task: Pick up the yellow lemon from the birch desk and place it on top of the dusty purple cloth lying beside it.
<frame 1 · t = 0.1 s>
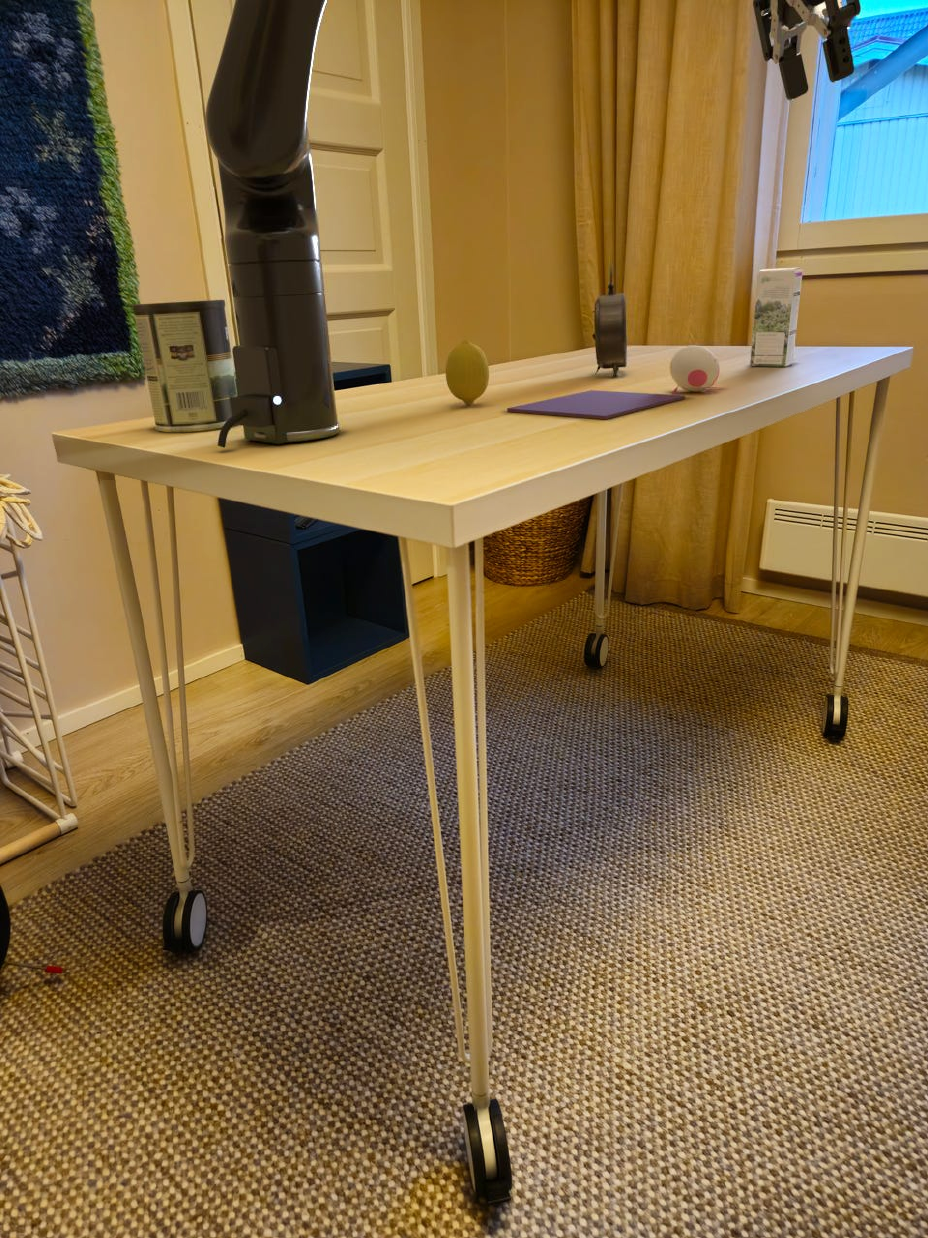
hand: (819, 87, 84), 31 cm above the table, tool tilted 20°, fingers open, 8 cm apart
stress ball: (697, 392, 109), on the table
coffee can: (199, 427, 100), on the table
lemon: (468, 407, 106), on the table
syrup box: (771, 366, 134), on the table
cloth: (597, 404, 101), on the table
alarm clock: (609, 375, 132), on the table
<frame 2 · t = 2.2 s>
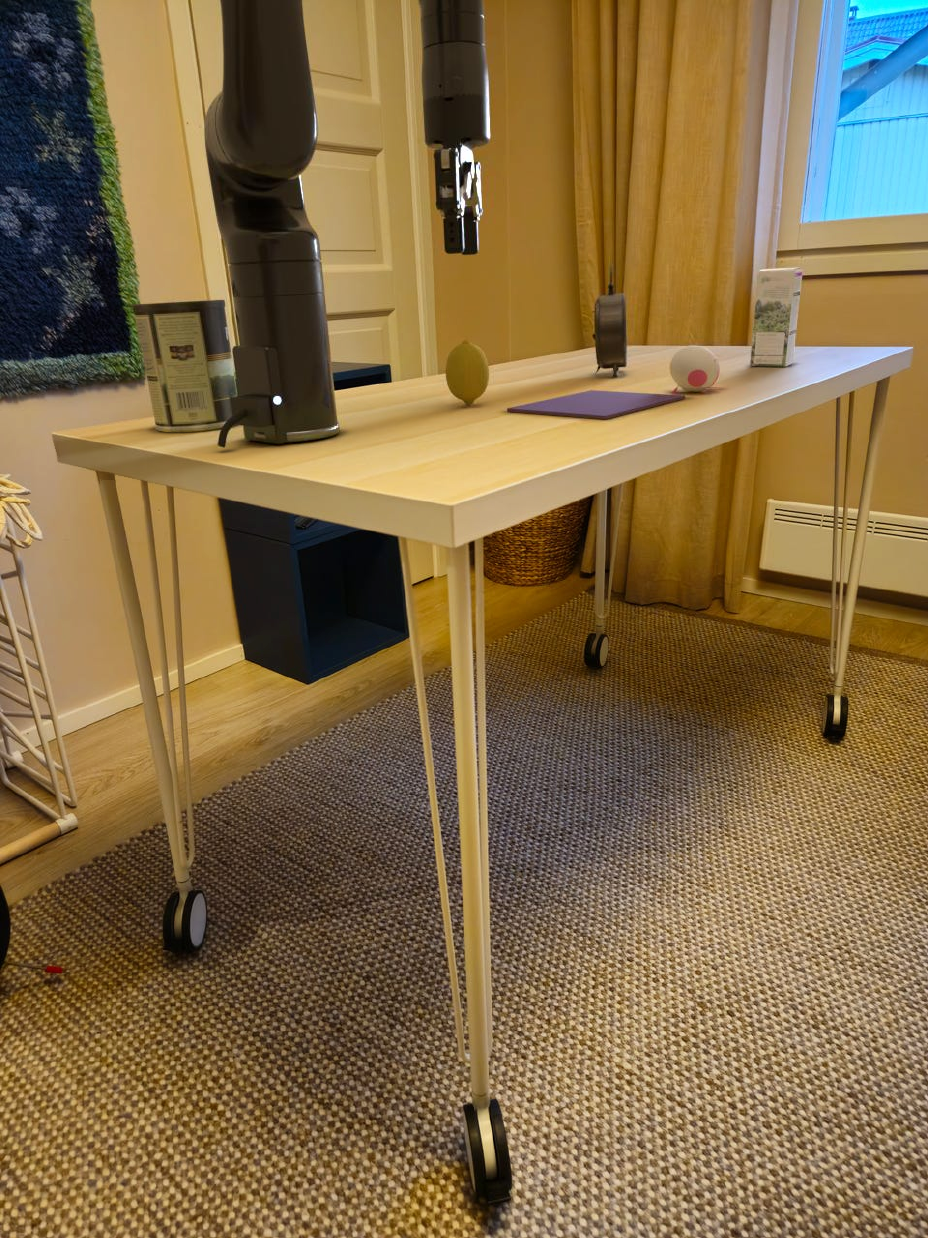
hand: (462, 254, 99), 18 cm above the table, tool pointing down, fingers open, 8 cm apart
nothing on the table moved.
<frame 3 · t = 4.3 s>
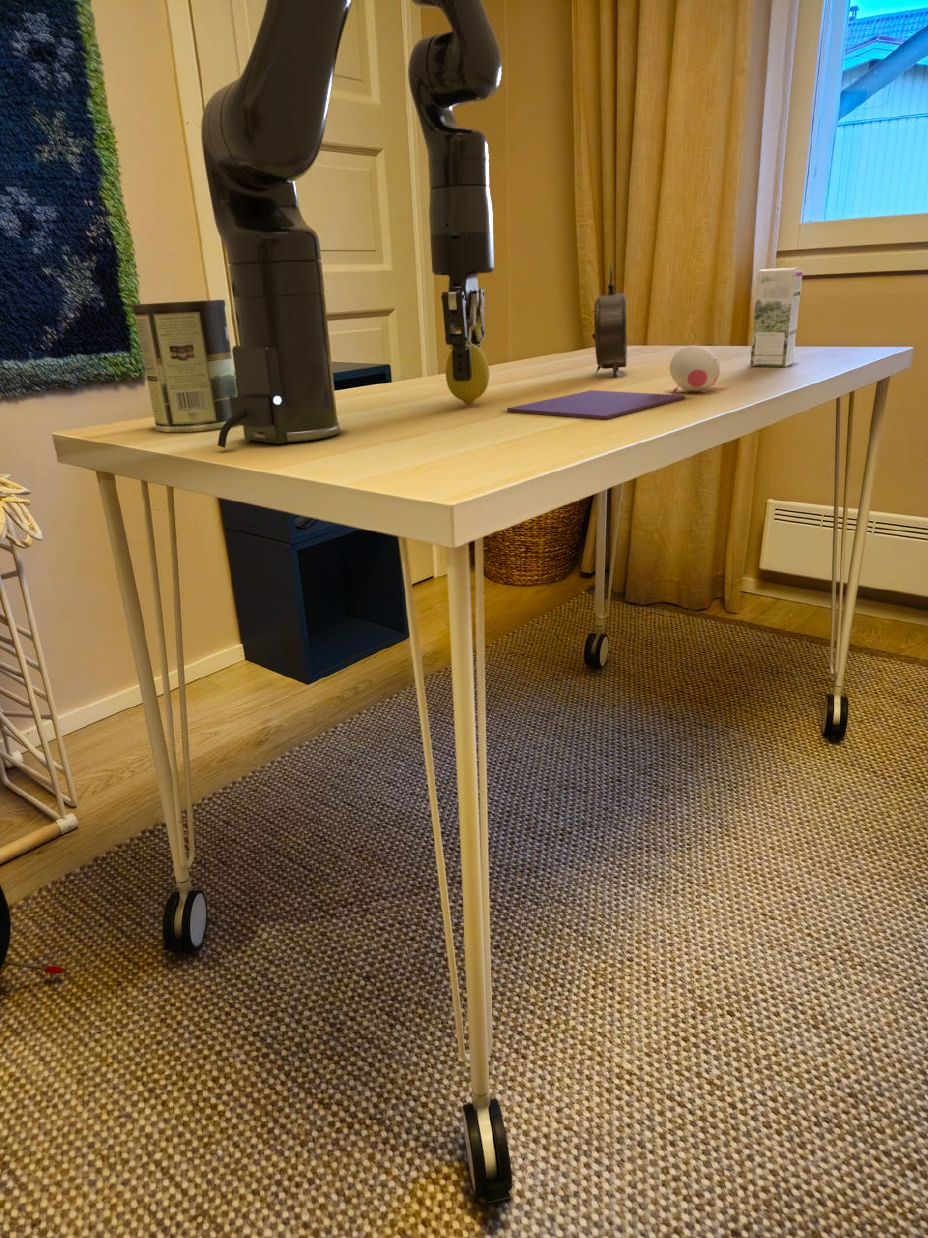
hand: (467, 377, 105), 4 cm above the table, tool pointing down, fingers closed on lemon, 5 cm apart
lemon: (468, 407, 106), on the table, touching gripper
everything else where it was.
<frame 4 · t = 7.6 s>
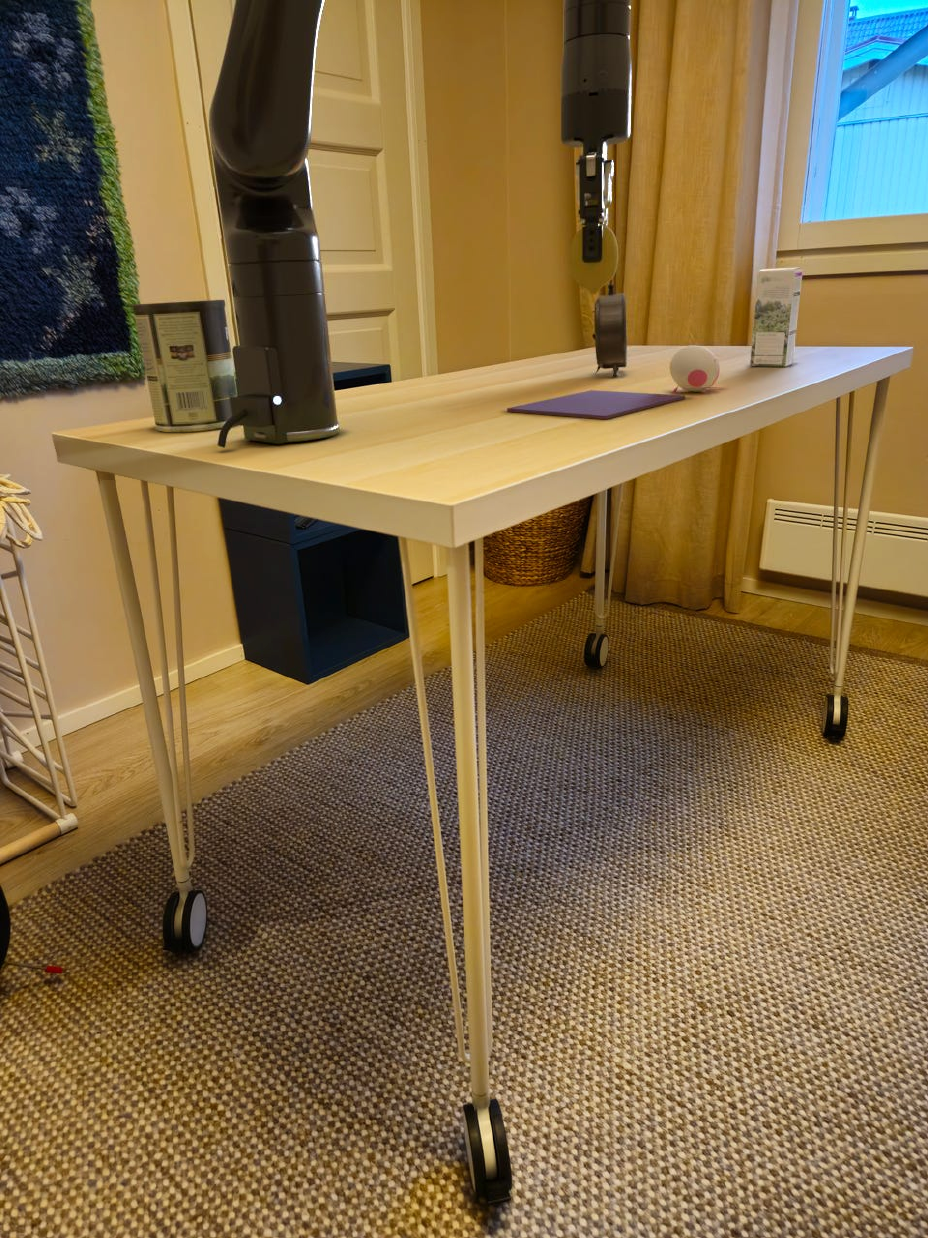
hand: (593, 261, 95), 16 cm above the table, tool pointing down, fingers closed on lemon, 5 cm apart
lemon: (593, 296, 97), point 12 cm above the table, touching gripper
everything else where it was.
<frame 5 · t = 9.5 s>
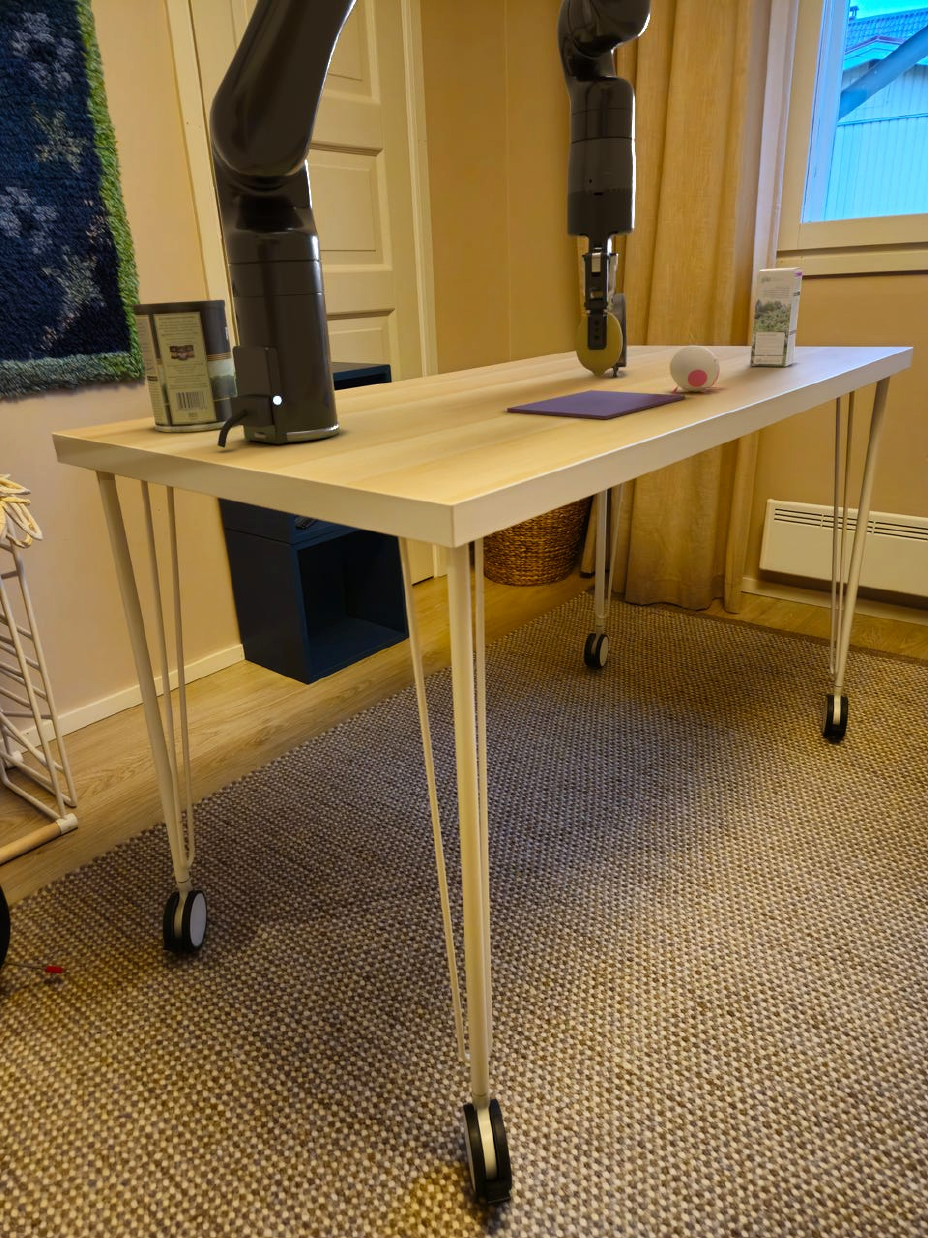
hand: (598, 346, 99), 7 cm above the table, tool pointing down, fingers closed on lemon, 5 cm apart
lemon: (598, 378, 100), point 3 cm above the table, touching gripper
everything else where it was.
when the fingers open (4 cm above the table, at t = 10.8 s): lemon stays where it is, resting on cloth.
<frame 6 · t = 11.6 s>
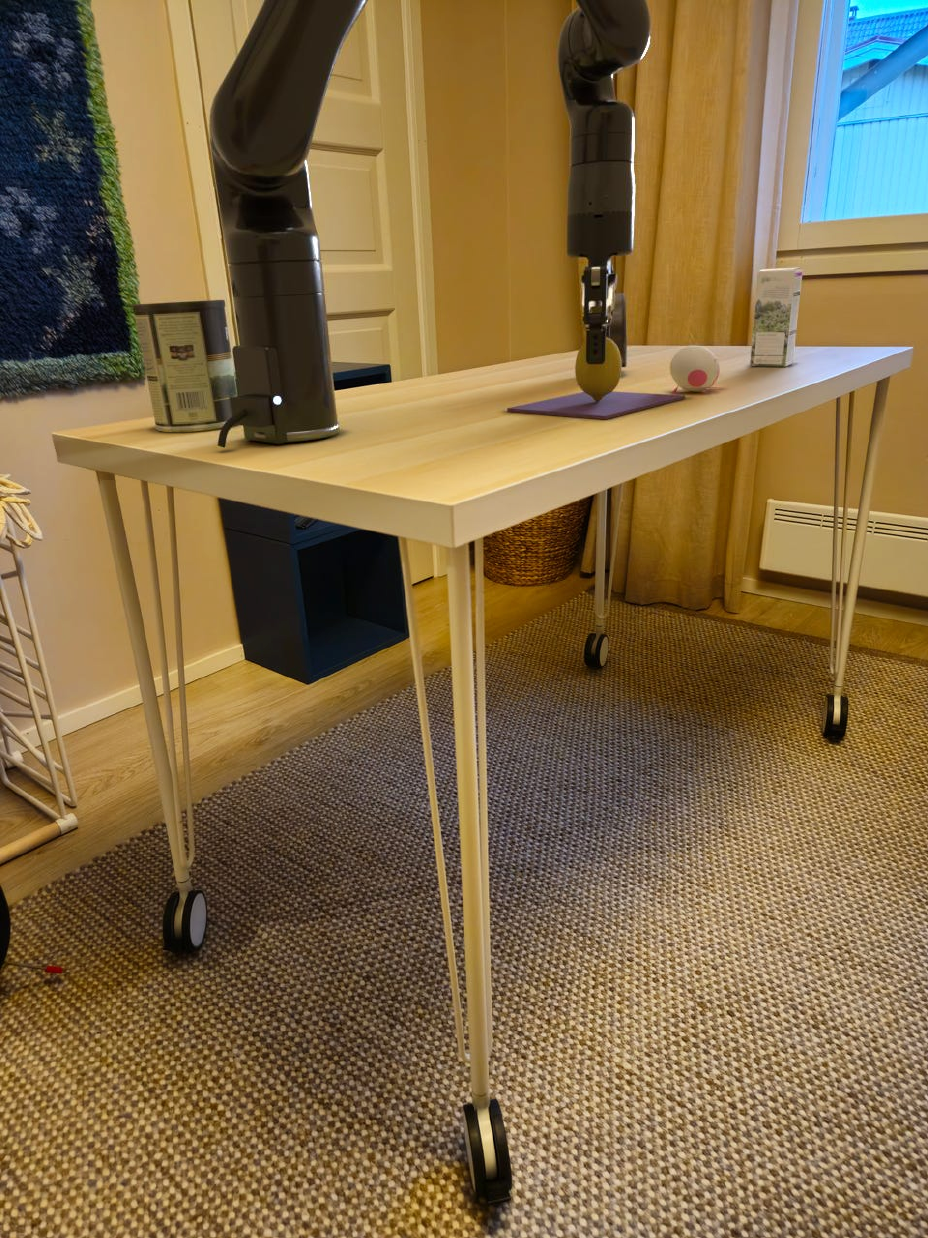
hand: (597, 360, 99), 5 cm above the table, tool pointing down, fingers open, 8 cm apart
lemon: (597, 403, 101), resting on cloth
everything else where it was.
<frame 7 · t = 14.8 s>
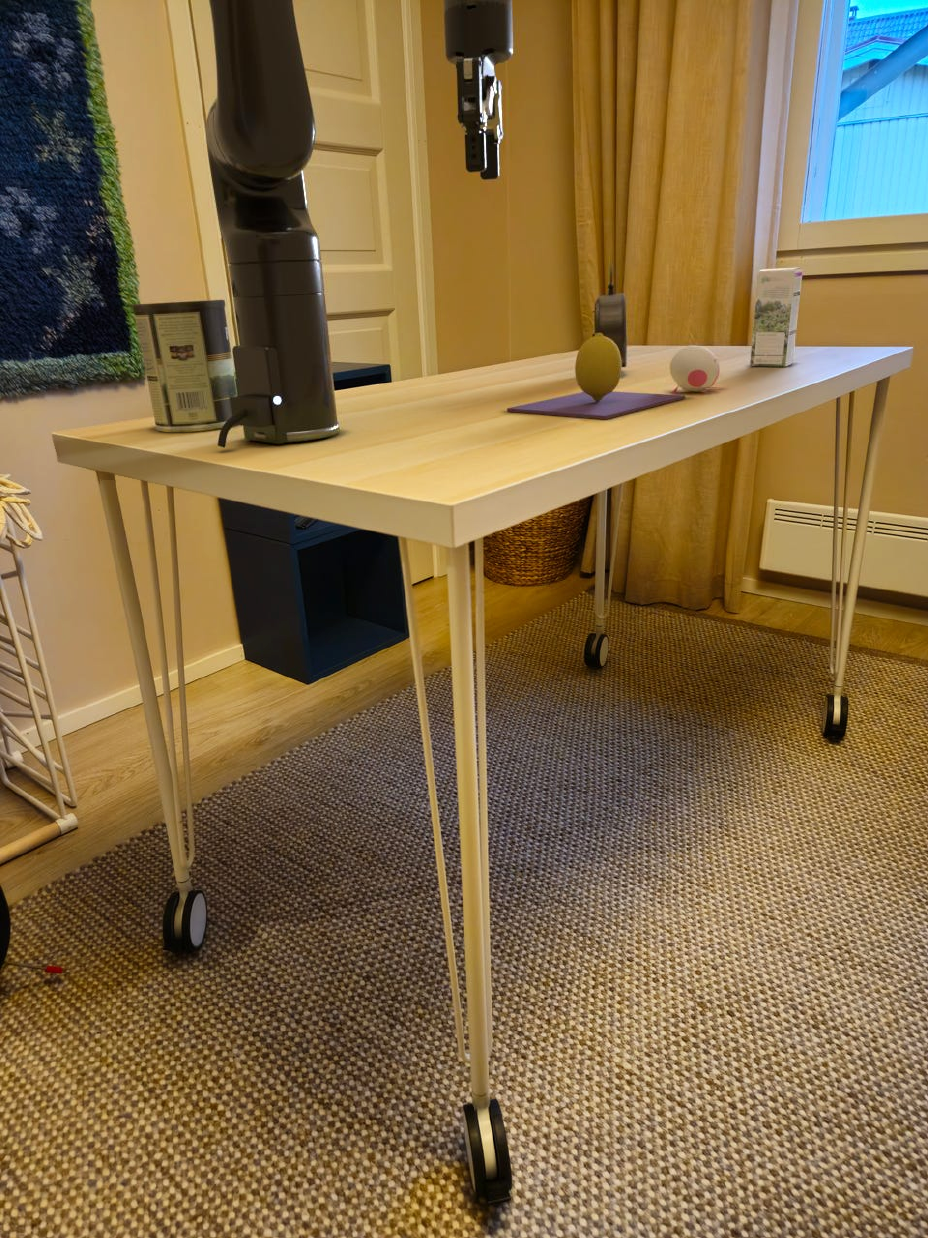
hand: (483, 175, 96), 26 cm above the table, tool pointing down, fingers open, 8 cm apart
nothing on the table moved.
at the end: lemon inside the target area on the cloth (0.0 cm from its centre), point 0.2 cm above the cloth's base; lemon touching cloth; the gripper is holding nothing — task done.
